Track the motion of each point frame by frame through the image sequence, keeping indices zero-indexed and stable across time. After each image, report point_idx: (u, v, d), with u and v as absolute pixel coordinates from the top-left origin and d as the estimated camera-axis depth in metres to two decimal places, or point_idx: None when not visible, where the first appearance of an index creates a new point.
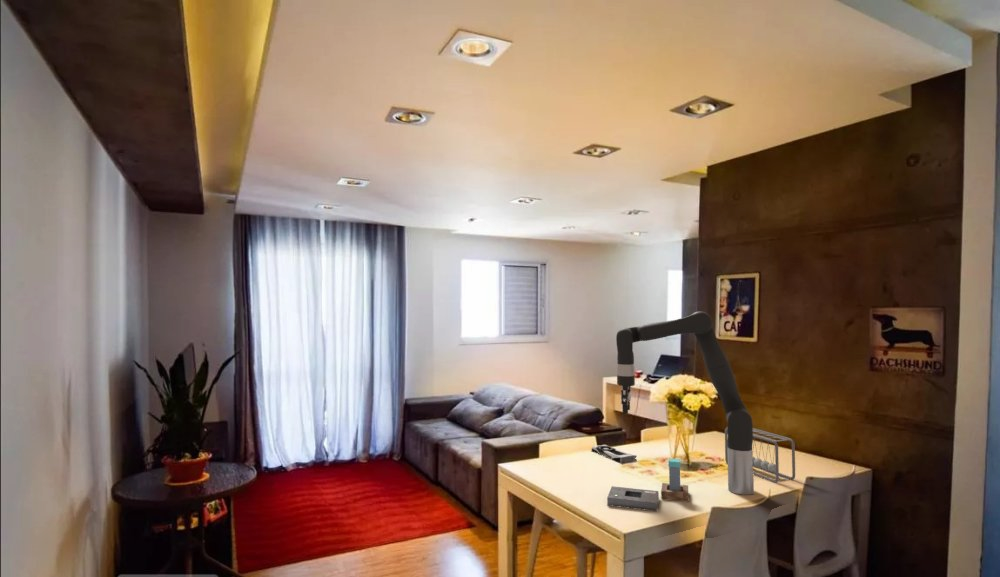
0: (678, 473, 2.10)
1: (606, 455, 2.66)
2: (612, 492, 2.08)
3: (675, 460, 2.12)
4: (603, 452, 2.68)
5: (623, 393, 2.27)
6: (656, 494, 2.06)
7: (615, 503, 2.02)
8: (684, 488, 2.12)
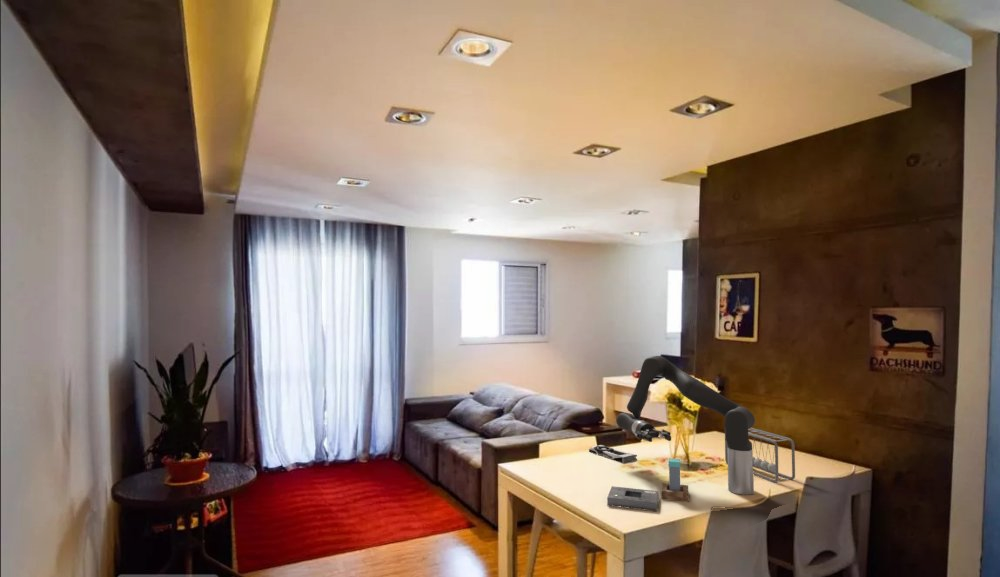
0: (678, 473, 2.10)
1: (606, 455, 2.65)
2: (612, 492, 2.08)
3: (675, 460, 2.12)
4: (602, 452, 2.68)
5: (635, 435, 2.31)
6: (656, 494, 2.06)
7: (615, 503, 2.02)
8: (684, 488, 2.12)
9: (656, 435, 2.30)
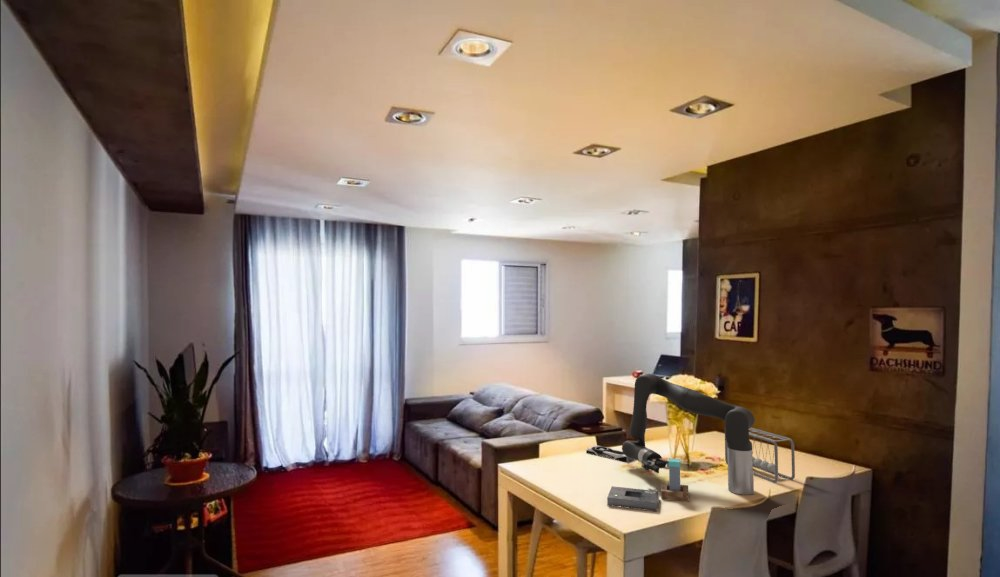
0: (678, 473, 2.10)
1: (607, 456, 2.65)
2: (612, 492, 2.08)
3: (675, 460, 2.12)
4: (602, 453, 2.67)
5: (642, 465, 2.25)
6: (656, 494, 2.06)
7: (615, 503, 2.02)
8: (684, 488, 2.12)
9: (663, 465, 2.24)
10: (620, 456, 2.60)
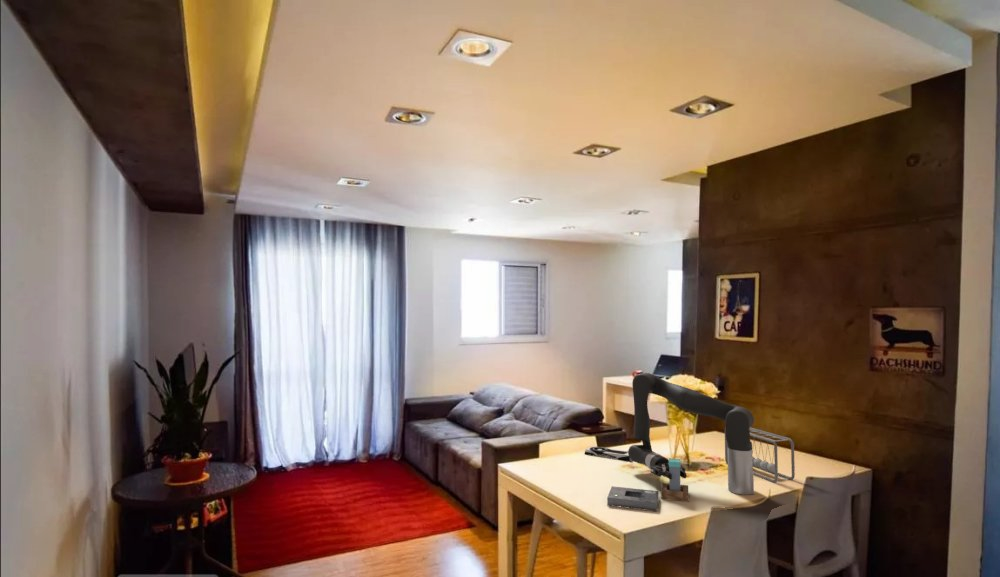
0: (678, 473, 2.10)
1: (608, 456, 2.65)
2: (612, 492, 2.08)
3: (675, 460, 2.12)
4: (603, 453, 2.66)
5: (652, 471, 2.17)
6: (656, 494, 2.06)
7: (615, 503, 2.02)
8: (684, 488, 2.12)
9: None
10: (622, 455, 2.61)
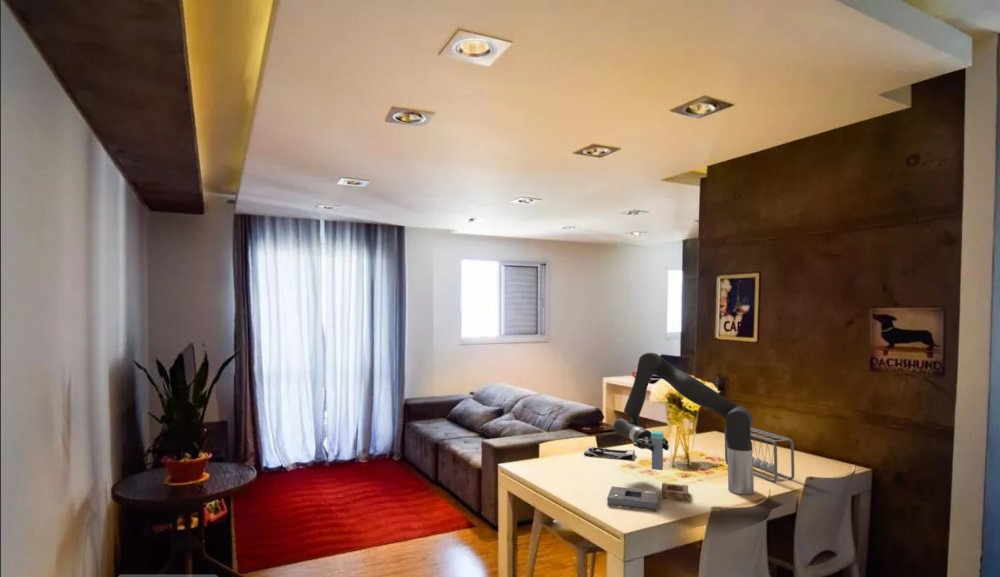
0: (660, 445, 2.09)
1: (609, 456, 2.64)
2: (612, 492, 2.08)
3: (658, 432, 2.11)
4: (604, 454, 2.65)
5: (635, 443, 2.16)
6: (656, 494, 2.06)
7: (615, 503, 2.02)
8: (684, 488, 2.12)
9: None
10: (624, 455, 2.62)
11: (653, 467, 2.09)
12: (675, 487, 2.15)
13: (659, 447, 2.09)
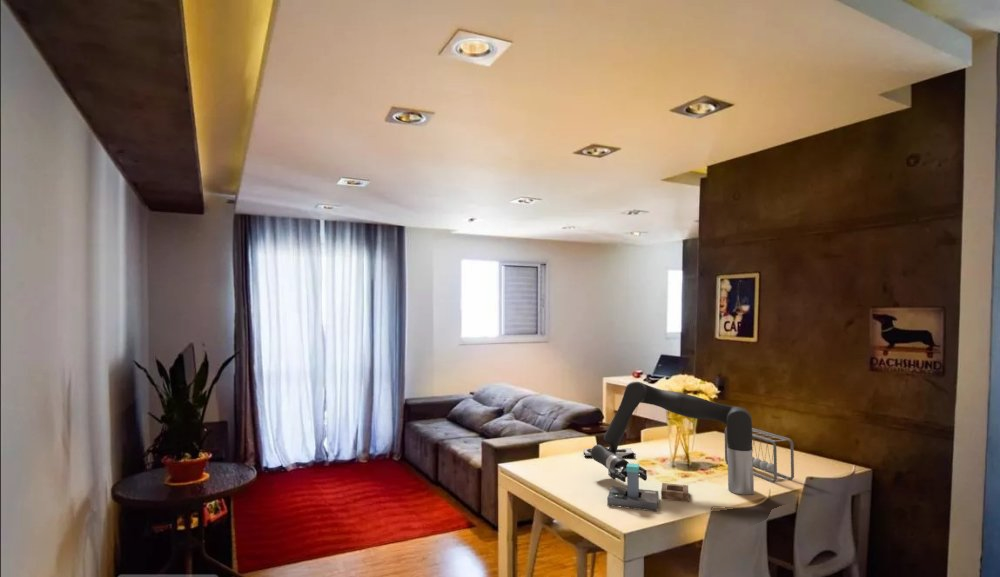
0: (636, 478, 2.04)
1: None
2: (612, 492, 2.08)
3: (633, 465, 2.06)
4: None
5: (609, 473, 2.12)
6: (656, 494, 2.06)
7: (615, 503, 2.02)
8: (684, 488, 2.12)
9: None
10: (626, 454, 2.64)
11: None
12: (675, 487, 2.15)
13: (635, 480, 2.04)
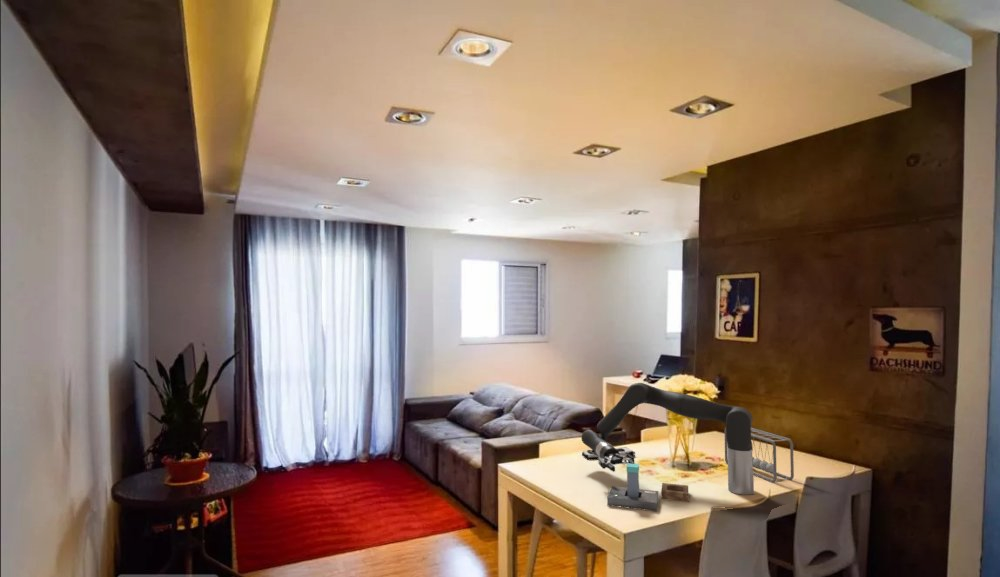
0: (636, 479, 2.04)
1: None
2: (612, 492, 2.08)
3: (633, 465, 2.06)
4: None
5: (599, 462, 2.24)
6: (656, 494, 2.06)
7: (615, 503, 2.02)
8: (684, 488, 2.12)
9: (620, 461, 2.23)
10: (626, 452, 2.66)
11: None
12: (675, 487, 2.15)
13: (635, 481, 2.04)
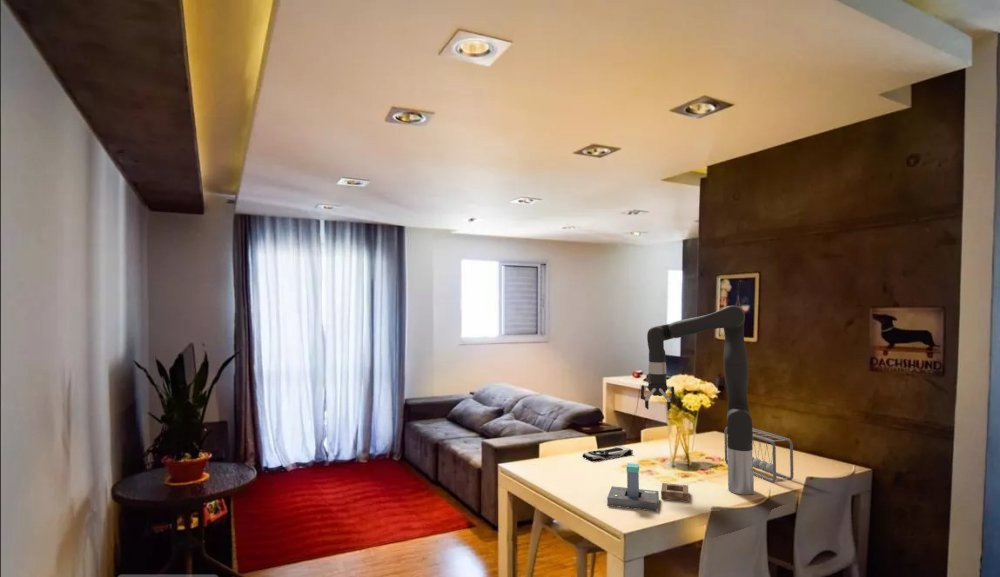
0: (636, 479, 2.04)
1: (614, 456, 2.64)
2: (612, 492, 2.08)
3: (633, 465, 2.06)
4: (609, 455, 2.63)
5: (641, 388, 2.35)
6: (656, 494, 2.06)
7: (615, 503, 2.02)
8: (684, 488, 2.12)
9: (660, 395, 2.32)
10: (625, 451, 2.68)
11: None
12: (675, 487, 2.15)
13: (635, 481, 2.04)
